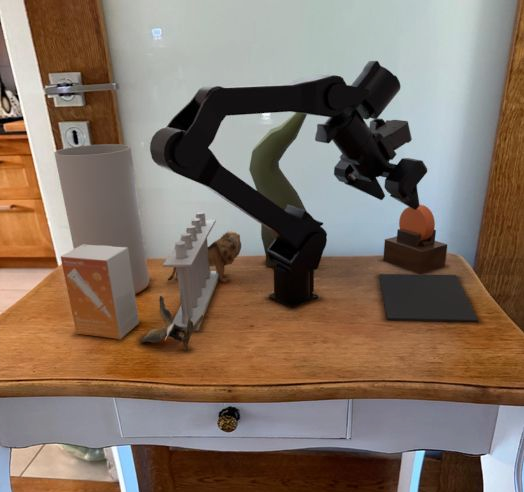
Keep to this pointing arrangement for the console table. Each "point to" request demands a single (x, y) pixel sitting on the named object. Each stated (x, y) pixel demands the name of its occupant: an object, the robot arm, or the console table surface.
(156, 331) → the eagle figurine
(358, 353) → the console table surface
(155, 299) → the console table surface
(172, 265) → the test tube rack
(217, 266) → the lion figurine
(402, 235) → the brown notched block
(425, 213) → the disc
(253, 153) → the tentacle
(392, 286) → the mat
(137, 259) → the cylinder vase
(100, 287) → the small box
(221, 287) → the console table surface
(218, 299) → the console table surface
